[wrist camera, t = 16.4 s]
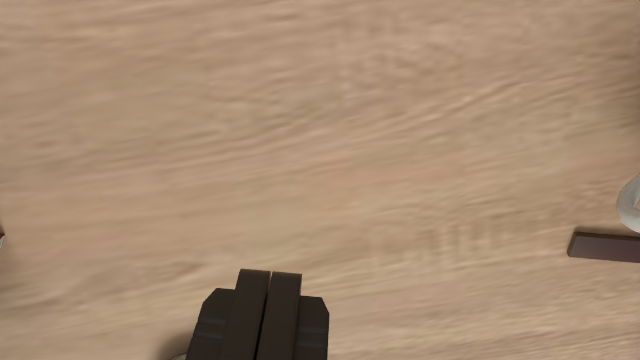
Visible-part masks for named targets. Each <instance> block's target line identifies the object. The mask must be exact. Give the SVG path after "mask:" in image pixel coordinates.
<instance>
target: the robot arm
mask: <svg viewBox="0 0 640 360" xmlns="http://www.w3.org/2000/svg"><path fill="white" fill-rule="evenodd" d="M301 282H302V274H297V273H286V272H275V271H273V272H272V277H271V271H262V270H251V269H241V270H240V272H239V276H238V280H237V284H236V288H235V290H233V289H222V288H216V289H215V290H214V291H213V292H212V293H211V295H210V296H209V297H208V298H207V299H206V300H205V301H204V302H203V304H202V308H201V311H200V314H199V317H198V322H197V323H196V326H195V330H194V333H193V337H192V339H191V342H190V345H189V348H188V352H187V355H186V358H185V360H327V352H328V332H329V312H328V310H327V308H326V306H325V304H324V302H323V299H322V297H311V296H301Z"/></svg>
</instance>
